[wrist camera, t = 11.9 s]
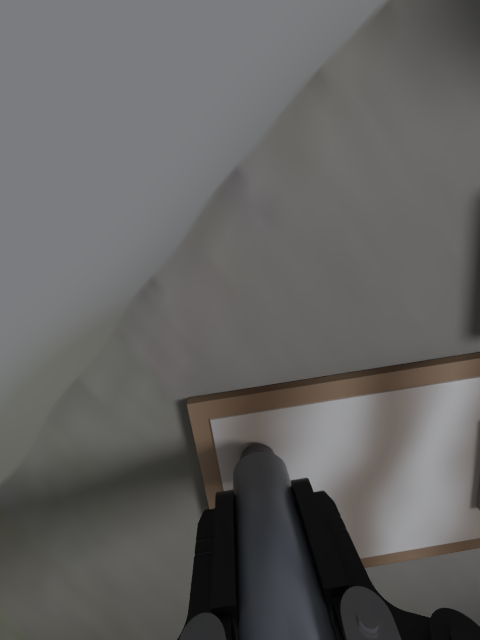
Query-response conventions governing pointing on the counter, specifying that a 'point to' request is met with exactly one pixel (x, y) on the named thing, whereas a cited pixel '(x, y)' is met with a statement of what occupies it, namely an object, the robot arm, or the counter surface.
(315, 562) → the robot arm
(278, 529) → the marker
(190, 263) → the counter surface
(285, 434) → the clipboard
